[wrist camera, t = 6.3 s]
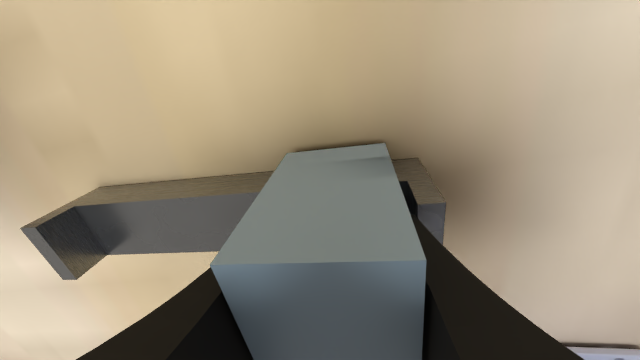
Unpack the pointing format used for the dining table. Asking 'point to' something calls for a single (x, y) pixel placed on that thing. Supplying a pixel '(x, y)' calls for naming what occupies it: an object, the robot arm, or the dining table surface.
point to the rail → (182, 217)
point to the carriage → (327, 262)
